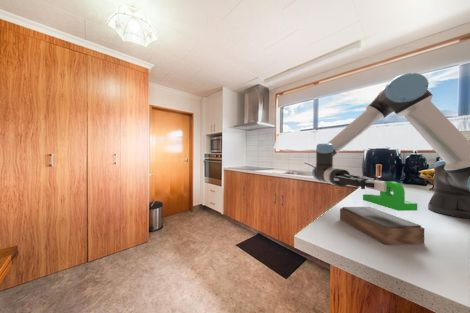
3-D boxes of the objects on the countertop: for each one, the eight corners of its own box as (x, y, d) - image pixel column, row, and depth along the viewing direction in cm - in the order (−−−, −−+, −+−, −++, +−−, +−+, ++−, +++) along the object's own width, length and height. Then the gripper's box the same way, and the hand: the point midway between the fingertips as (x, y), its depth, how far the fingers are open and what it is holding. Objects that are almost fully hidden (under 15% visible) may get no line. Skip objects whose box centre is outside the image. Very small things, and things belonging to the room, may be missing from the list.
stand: (368, 218, 65) (368, 206, 65) (424, 243, 47) (424, 226, 47) (339, 219, 64) (340, 206, 64) (385, 244, 46) (385, 227, 46)
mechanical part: (417, 210, 48) (417, 183, 48) (398, 210, 47) (398, 183, 47) (378, 199, 60) (378, 178, 60) (362, 200, 59) (363, 177, 59)
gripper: (352, 185, 75) (411, 199, 51) (320, 185, 74) (366, 199, 50) (353, 168, 75) (412, 175, 51) (321, 168, 74) (367, 175, 50)
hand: (389, 187), depth 51 cm, fingers closed on mechanical part, 2 cm apart
